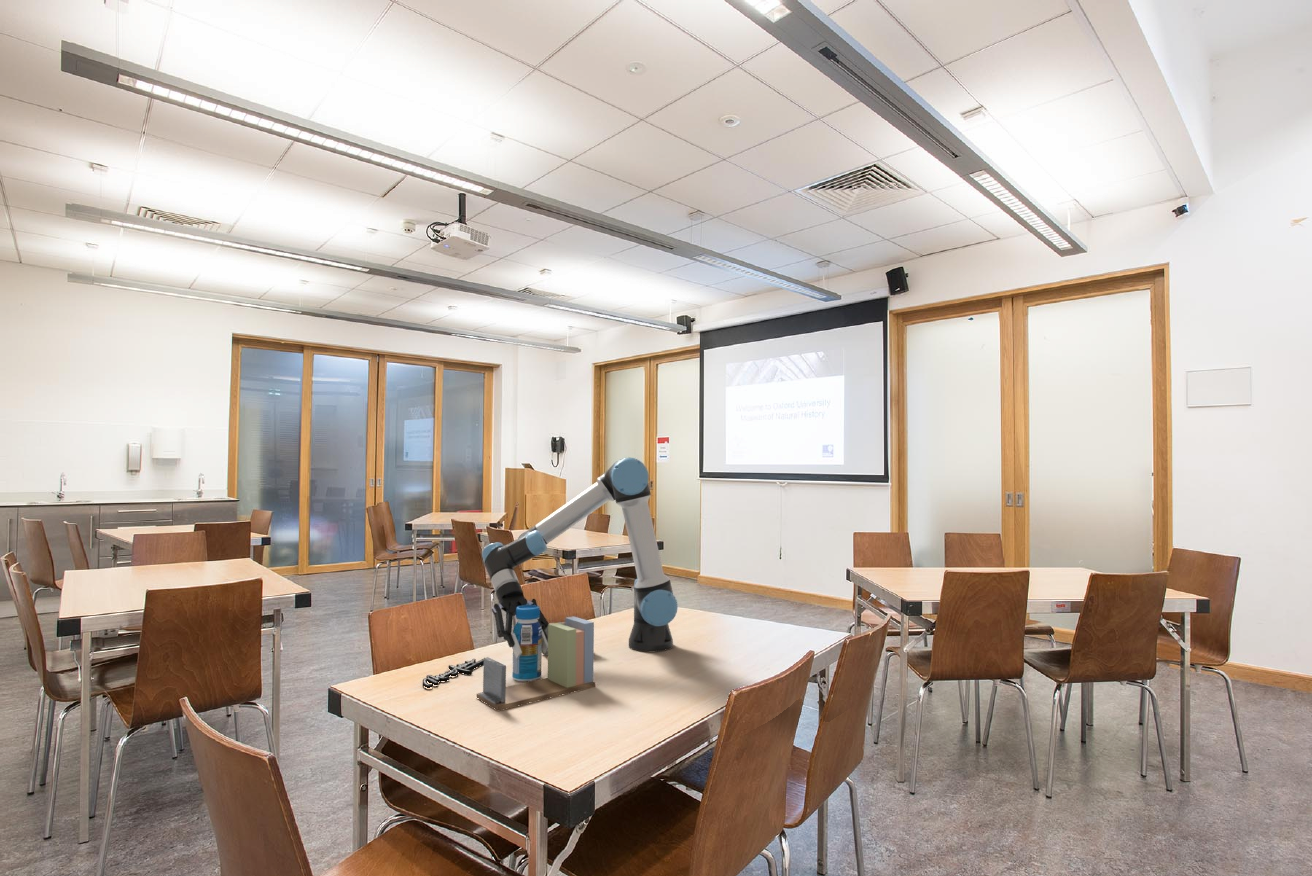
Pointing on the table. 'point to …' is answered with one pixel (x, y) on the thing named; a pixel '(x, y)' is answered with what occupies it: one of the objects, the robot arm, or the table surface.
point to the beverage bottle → (528, 644)
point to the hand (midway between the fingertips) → (533, 652)
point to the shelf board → (534, 692)
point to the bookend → (494, 681)
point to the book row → (571, 652)
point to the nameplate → (452, 672)
